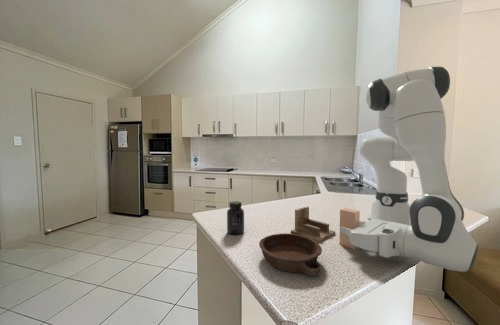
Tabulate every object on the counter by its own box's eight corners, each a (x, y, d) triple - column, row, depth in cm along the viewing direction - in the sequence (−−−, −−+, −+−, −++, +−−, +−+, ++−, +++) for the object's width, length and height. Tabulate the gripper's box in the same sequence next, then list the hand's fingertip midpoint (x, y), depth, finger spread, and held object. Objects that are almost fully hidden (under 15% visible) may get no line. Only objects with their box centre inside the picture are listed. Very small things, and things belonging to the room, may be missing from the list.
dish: (285, 241, 76) (285, 227, 75) (341, 268, 57) (341, 250, 57) (244, 253, 66) (244, 237, 66) (295, 291, 48) (295, 270, 47)
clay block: (344, 241, 74) (344, 208, 74) (358, 246, 71) (359, 210, 70) (339, 244, 72) (340, 209, 72) (354, 249, 68) (355, 212, 68)
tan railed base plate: (308, 226, 90) (308, 205, 90) (335, 234, 81) (335, 211, 81) (291, 232, 83) (291, 210, 82) (318, 242, 74) (318, 217, 73)
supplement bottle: (247, 230, 85) (247, 201, 85) (239, 236, 79) (239, 205, 79) (232, 228, 88) (232, 199, 88) (223, 233, 82) (223, 203, 81)
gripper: (405, 219, 68) (360, 211, 78) (384, 236, 55) (333, 223, 65) (404, 239, 68) (360, 227, 79) (383, 259, 55) (333, 243, 65)
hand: (347, 225), depth 72 cm, fingers open, 8 cm apart
